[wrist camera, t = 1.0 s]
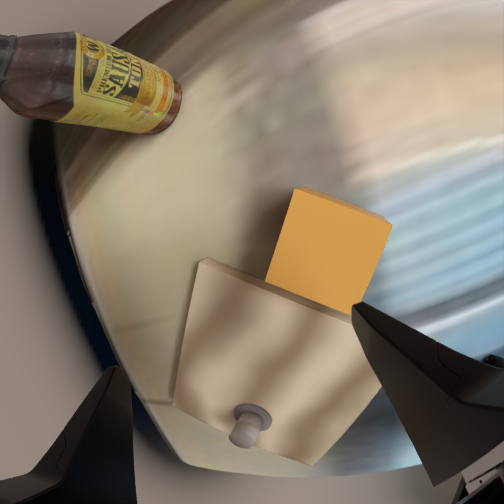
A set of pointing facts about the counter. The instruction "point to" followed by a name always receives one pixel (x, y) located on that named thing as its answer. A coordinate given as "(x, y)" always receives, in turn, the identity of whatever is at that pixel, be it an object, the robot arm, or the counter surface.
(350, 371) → the birch board
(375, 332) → the robot arm
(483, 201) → the counter surface
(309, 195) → the amber foam cube
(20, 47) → the sauce bottle
